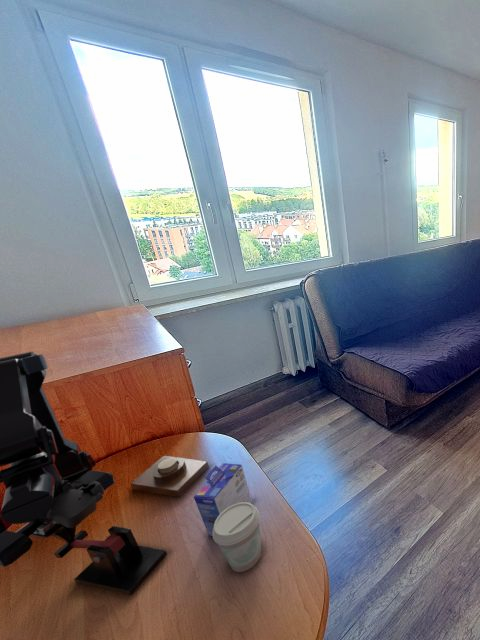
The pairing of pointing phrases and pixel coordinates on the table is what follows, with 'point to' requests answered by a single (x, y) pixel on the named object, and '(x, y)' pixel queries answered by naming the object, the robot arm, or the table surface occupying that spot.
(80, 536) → the red lever handle
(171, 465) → the bell button
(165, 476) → the bell block
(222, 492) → the ink cartridge box
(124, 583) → the lever stand
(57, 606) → the table surface
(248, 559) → the coffee cup
